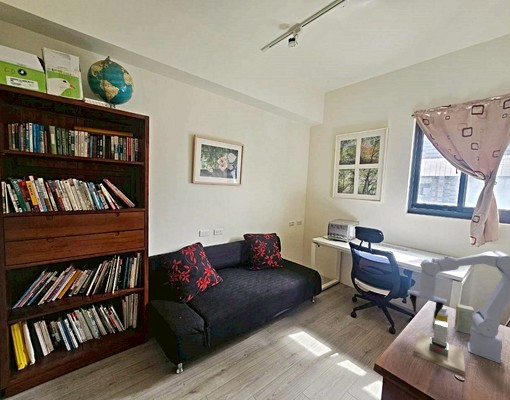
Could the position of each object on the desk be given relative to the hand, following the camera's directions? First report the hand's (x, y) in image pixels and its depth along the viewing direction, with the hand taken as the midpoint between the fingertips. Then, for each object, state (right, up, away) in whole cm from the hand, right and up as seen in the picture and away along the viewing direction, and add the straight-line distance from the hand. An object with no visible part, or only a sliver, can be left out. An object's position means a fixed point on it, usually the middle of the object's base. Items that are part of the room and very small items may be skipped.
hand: (424, 314), depth 108 cm
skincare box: (+23, -11, +6) cm, 26 cm away
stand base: (-2, -11, -11) cm, 16 cm away
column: (-2, -6, -11) cm, 13 cm away
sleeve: (-2, -10, -11) cm, 15 cm away
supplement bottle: (+14, -11, +9) cm, 20 cm away
